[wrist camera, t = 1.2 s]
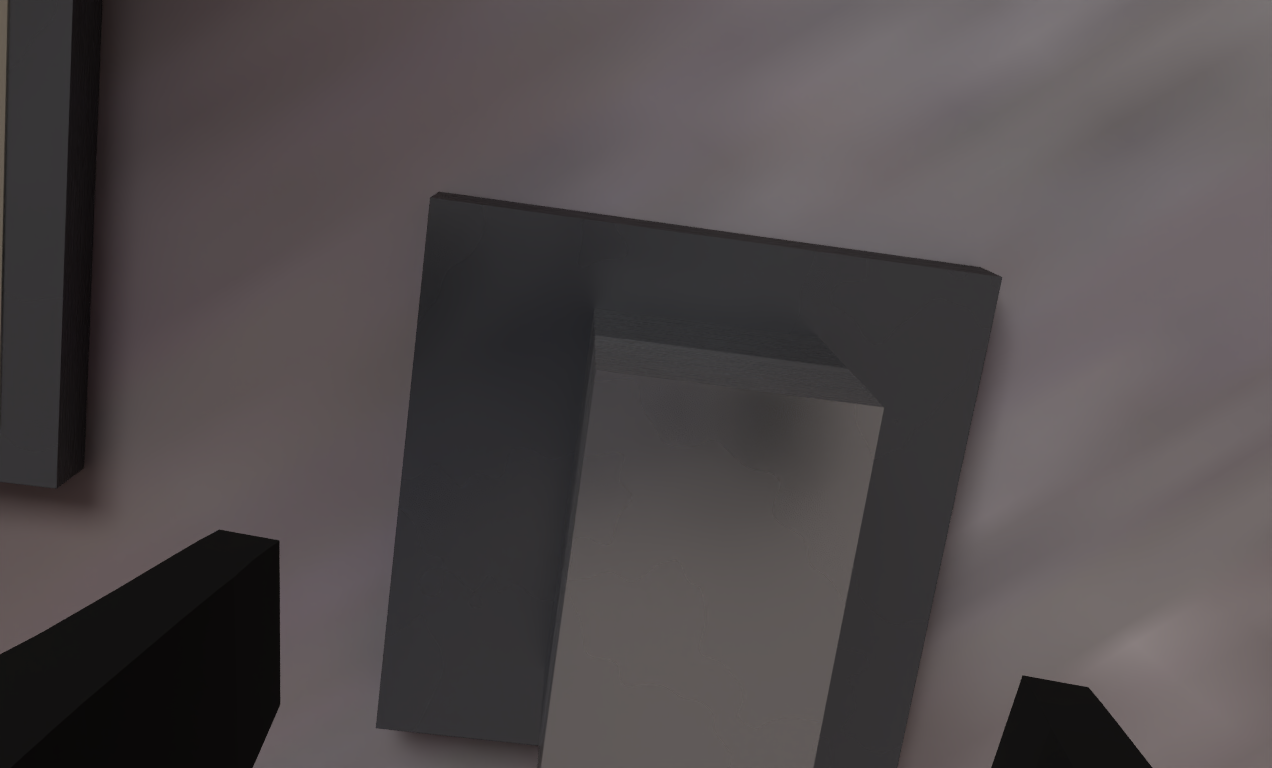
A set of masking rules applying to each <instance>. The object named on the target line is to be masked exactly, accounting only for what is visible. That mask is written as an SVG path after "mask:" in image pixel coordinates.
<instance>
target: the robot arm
mask: <svg viewBox="0 0 1272 768" xmlns="http://www.w3.org/2000/svg"><path fill="white" fill-rule="evenodd" d="M279 706H280V573H279V540H273V539H268V538H262V537H257V536H251V535H246V534H240V533H235V532H229V531H224V530H218V531H216V532H214V533H212V534H210V535H208V536H207V537H205V538H203V539H201V540H199V541H197V542H196V543H194V544H192V545H190V546H189V547H187V548H185V549H184V550H182V551H180V552H178V553H177V554H175V555H173V556H172V557H170V558H168V559H167V560H165V561H163V562H162V563H160V564H158V565H157V566H155V567H153V568H152V569H150V570H148V571H147V572H145V573H143V574H142V575H140V576H138V577H136V578H135V579H133V580H131V581H130V582H128V583H126V584H125V585H123V586H121V587H120V588H118V589H116V590H115V591H113V592H111V593H109V594H108V595H106V596H104V597H102V598H101V599H99V600H97V601H96V602H94V603H92V604H90V605H89V606H87V607H85V608H83V609H82V610H80V611H78V612H77V613H75V614H73V615H71V616H70V617H68V618H66V619H64V620H63V621H61V622H59V623H57V624H56V625H54V626H52V627H51V628H49V629H47V630H45V631H44V632H42V633H40V634H38V635H36V636H34V637H33V638H31V639H29V640H27V641H25V642H23V643H21V644H19V645H17V646H15V647H13V648H12V649H10V650H8V651H6V652H4V653H2V654H0V768H252V767H253V765H254V763H255V761H256V759H257V757H258V754H259V752H260V750H261V748H262V745H263V743H264V741H265V738H266V736H267V734H268V731H269V729H270V727H271V724H272V722H273V720H274V717H275V715H276V713H277V710H278V708H279ZM991 768H1152V767H1151V765H1150V764H1149V763H1148V762H1147V760H1146V759H1145V758H1144V756H1143V755H1142V754H1141V753H1140V751H1139V750H1138V749H1137V748H1136V746H1135V745H1134V744H1133V742H1132V741H1131V740H1130V739H1129V737H1128V736H1127V735H1126V733H1125V732H1124V731H1123V730H1122V728H1121V727H1120V726H1119V724H1118V723H1117V722H1116V721H1115V719H1114V718H1113V717H1112V716H1111V714H1110V713H1109V712H1108V711H1107V709H1106V708H1105V707H1104V706H1103V704H1102V703H1101V702H1100V701H1099V699H1098V698H1097V697H1096V696H1095V695H1094V693H1093V692H1092V691H1091V690H1090V689H1089V688H1088V687H1083V686H1078V685H1072V684H1067V683H1061V682H1056V681H1050V680H1045V679H1039V678H1034V677H1028V676H1022V679H1021V682H1020V685H1019V688H1018V691H1017V694H1016V697H1015V700H1014V703H1013V706H1012V708H1011V711H1010V714H1009V717H1008V720H1007V723H1006V726H1005V729H1004V732H1003V735H1002V738H1001V741H1000V744H999V747H998V750H997V753H996V756H995V759H994V762H993V764H992V767H991Z"/></svg>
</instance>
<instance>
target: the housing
mask: <svg viewBox="0 0 1272 768" xmlns="http://www.w3.org/2000/svg"><path fill="white" fill-rule="evenodd" d="M883 411H884V407H883V406H882V405H881V404H880V403H879V401H878V400H877V399H876V398H875V397H874V396H873V395H872V394H871V393H870V392H869V391H868V390H867V389H866V387H865V386H864V385H863V384H862V383H861V382H860V381H859V380H858V379H857V378H856V377H855V376H854V375H853V374H852V372H851V371H850V370H849V369H848V368H847V367H846V366H845V365H844V364H843V363H842V362H841V361H840V360H839V358H838V357H837V356H836V355H835V354H834V353H833V352H832V351H831V350H830V349H829V348H828V347H827V346H826V344H825V343H824V342H823V341H822V340H821V339H820V338H816V337H809V336H801V335H794V334H786V333H779V332H771V331H764V330H756V329H749V328H742V327H734V326H727V325H719V324H712V323H704V322H697V321H689V320H682V319H674V318H667V317H659V316H652V315H645V314H637V313H630V312H622V311H615V310H607V309H600V308H594V313H593V321H592V328H591V335H590V343H589V350H588V357H587V365H586V372H585V379H584V386H583V394H582V401H581V408H580V416H579V423H578V430H577V438H576V445H575V452H574V460H573V467H572V474H571V482H570V489H569V496H568V504H567V511H566V518H565V526H564V533H563V540H562V548H561V555H560V562H559V570H558V577H557V584H556V592H555V599H554V606H553V614H552V621H551V628H550V636H549V643H548V650H547V657H546V665H545V672H544V684H543V698H542V711H541V724H540V738H539V751H538V764H537V768H813V767H814V762H815V757H816V752H817V747H818V742H819V736H820V731H821V726H822V721H823V716H824V711H825V706H826V701H827V696H828V691H829V686H830V681H831V675H832V670H833V665H834V660H835V655H836V650H837V645H838V640H839V635H840V630H841V625H842V619H843V614H844V609H845V604H846V599H847V594H848V589H849V584H850V579H851V574H852V569H853V563H854V558H855V553H856V548H857V543H858V538H859V533H860V528H861V523H862V518H863V513H864V507H865V502H866V497H867V492H868V487H869V482H870V477H871V472H872V467H873V462H874V457H875V451H876V446H877V441H878V436H879V431H880V426H881V421H882V416H883Z"/></svg>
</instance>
